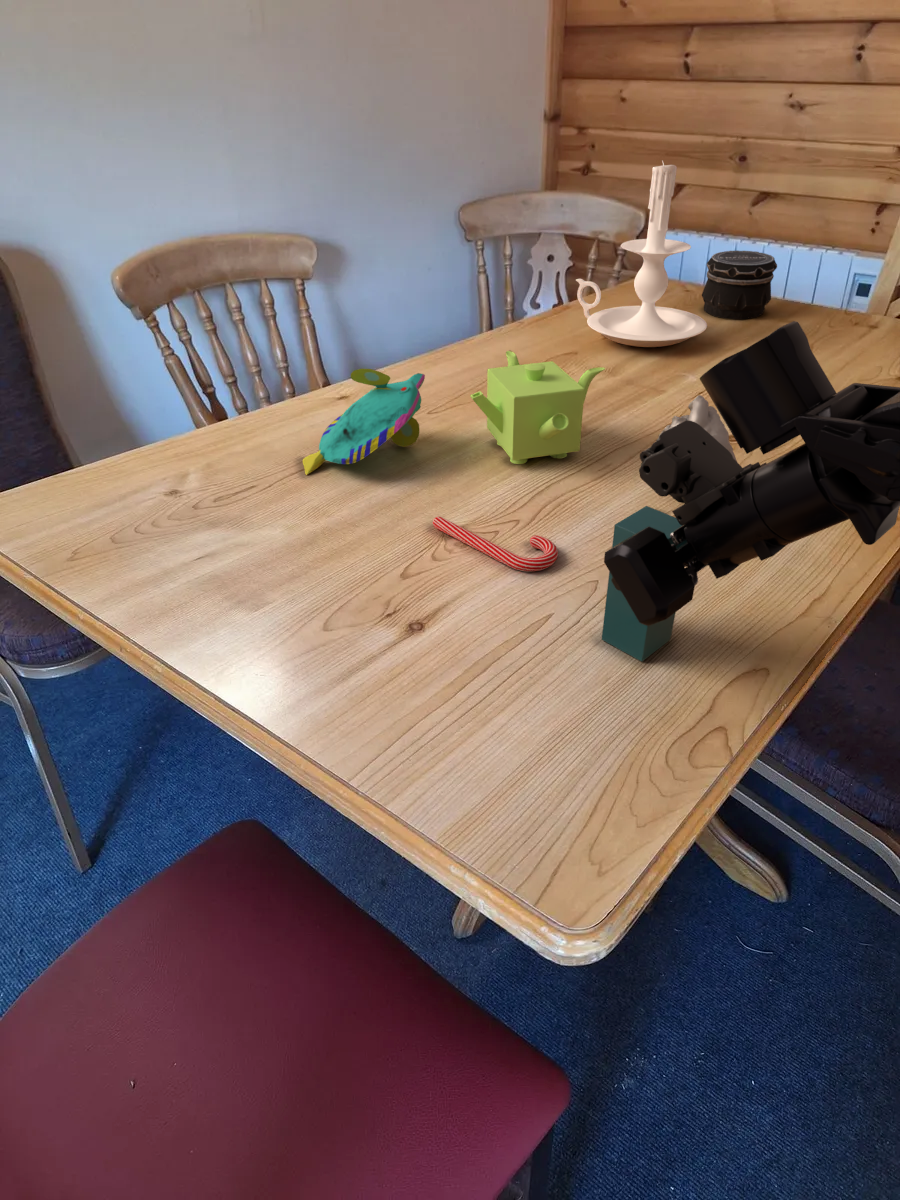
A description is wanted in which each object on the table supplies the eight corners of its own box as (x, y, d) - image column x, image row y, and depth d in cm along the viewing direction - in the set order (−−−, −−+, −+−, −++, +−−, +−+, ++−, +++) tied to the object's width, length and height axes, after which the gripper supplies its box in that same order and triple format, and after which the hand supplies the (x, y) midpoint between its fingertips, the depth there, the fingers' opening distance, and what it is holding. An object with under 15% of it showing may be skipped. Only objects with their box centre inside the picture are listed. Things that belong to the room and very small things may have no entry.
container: (721, 323, 145) (732, 267, 139) (687, 305, 155) (695, 252, 149) (781, 317, 148) (794, 261, 142) (743, 299, 158) (753, 247, 152)
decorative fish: (393, 325, 101) (422, 360, 89) (438, 402, 108) (470, 443, 96) (269, 408, 102) (280, 453, 90) (322, 478, 110) (339, 528, 98)
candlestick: (600, 313, 152) (614, 149, 136) (722, 334, 140) (754, 156, 123) (544, 341, 139) (552, 163, 123) (673, 367, 127) (702, 173, 110)
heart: (644, 515, 87) (680, 417, 80) (639, 476, 95) (671, 383, 87) (733, 533, 87) (776, 436, 80) (720, 493, 95) (759, 401, 87)
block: (670, 639, 70) (691, 523, 63) (641, 662, 67) (660, 544, 60) (630, 618, 72) (646, 505, 65) (601, 639, 70) (614, 524, 63)
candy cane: (467, 510, 90) (467, 498, 89) (569, 557, 81) (570, 545, 80) (429, 529, 87) (429, 517, 86) (531, 581, 78) (531, 568, 77)
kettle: (505, 419, 111) (508, 340, 104) (600, 437, 106) (609, 355, 99) (457, 460, 100) (456, 375, 94) (560, 483, 95) (567, 394, 88)
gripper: (787, 368, 59) (647, 458, 72) (642, 443, 49) (510, 532, 62) (862, 494, 59) (708, 561, 72) (732, 596, 49) (580, 652, 62)
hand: (631, 572), depth 67 cm, fingers closed on block, 4 cm apart
